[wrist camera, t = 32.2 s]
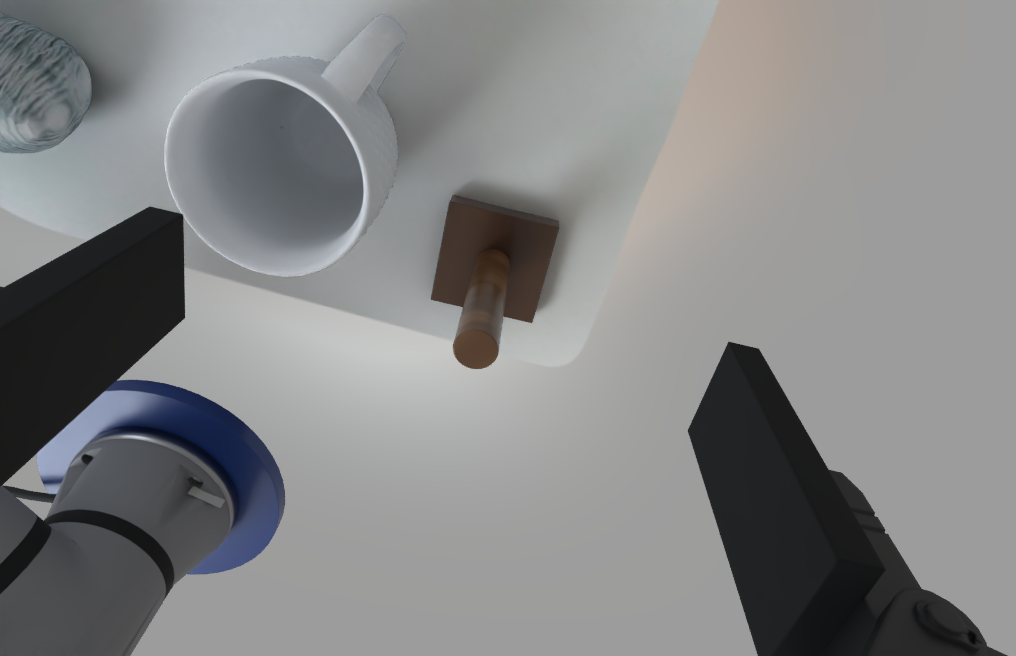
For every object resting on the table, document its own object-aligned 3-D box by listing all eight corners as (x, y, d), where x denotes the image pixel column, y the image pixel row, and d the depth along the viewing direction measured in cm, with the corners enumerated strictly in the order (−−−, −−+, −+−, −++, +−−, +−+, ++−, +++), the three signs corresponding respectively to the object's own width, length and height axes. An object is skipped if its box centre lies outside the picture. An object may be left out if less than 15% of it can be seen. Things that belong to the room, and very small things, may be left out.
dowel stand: (433, 291, 50) (396, 391, 38) (452, 194, 46) (417, 270, 34) (532, 314, 51) (527, 420, 38) (559, 220, 47) (562, 304, 35)
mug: (344, -48, 40) (260, -61, 28) (483, 74, 42) (459, 107, 31) (233, 141, 45) (126, 194, 34) (362, 236, 48) (304, 315, 37)
